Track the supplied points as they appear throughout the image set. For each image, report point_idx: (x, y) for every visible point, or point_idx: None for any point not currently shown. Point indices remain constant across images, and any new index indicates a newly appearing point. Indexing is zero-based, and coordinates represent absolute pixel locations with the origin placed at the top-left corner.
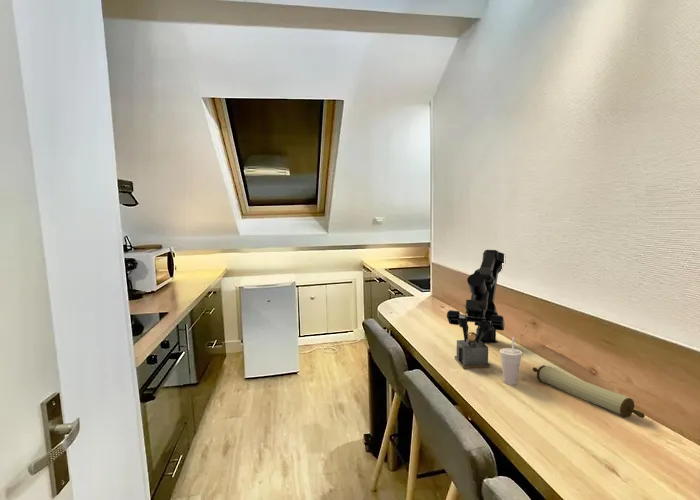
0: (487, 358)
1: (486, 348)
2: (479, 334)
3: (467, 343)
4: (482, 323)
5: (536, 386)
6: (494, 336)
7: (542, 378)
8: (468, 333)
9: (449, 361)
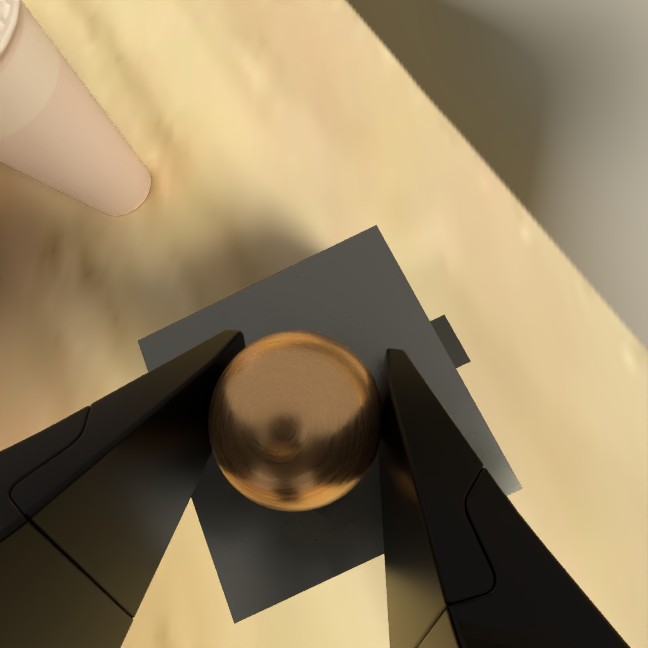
0: None
1: (162, 332)
2: (149, 388)
3: None
4: None
5: (11, 187)
6: None
7: None
8: (352, 417)
9: (489, 378)
